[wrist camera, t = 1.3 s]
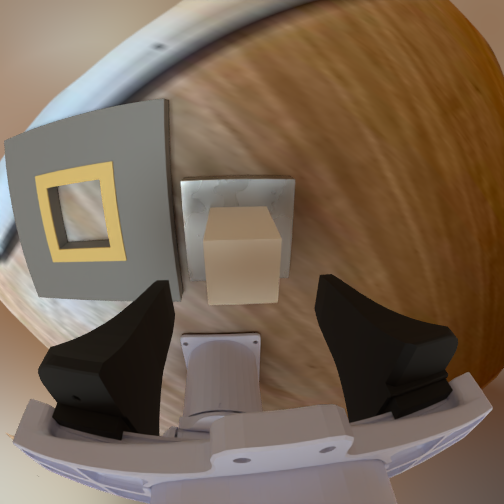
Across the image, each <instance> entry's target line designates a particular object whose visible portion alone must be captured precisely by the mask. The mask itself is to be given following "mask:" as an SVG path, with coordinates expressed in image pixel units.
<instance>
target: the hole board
mask: <svg viewBox="0 0 504 504" xmlns="http://www.w3.org/2000/svg"><path fill="white" fill-rule="evenodd" d="M4 146H5V159H6V169H7V178H8V185H9V191H10V197H11V203H12V208H13V213H14V218H15V222H16V227H17V231H18V235H19V238H20V242H21V246H22V249H23V253H24V256H25V259H26V262H27V266H28V269H29V272H30V274H31V277H32V280H33V283H34V286H35V288H36V291H37V293H38V296H39V297H46V298H61V299H80V300H105V301H135V300H136V299H137V298H138V297H139V296H140V295H141V294H142V293H143V292H144V291H145V290H146V289H147V288H148V287H150V286H151V285H152V284H153V283H154V282H155V281H156V280H169V284H170V290H171V296H172V301H181V299H182V294H183V287H182V280H181V273H180V265H179V257H178V249H177V240H176V231H175V221H174V210H173V198H172V184H171V167H170V146H169V101H168V100H166V99H156V100H149V101H142V102H136V103H130V104H124V105H119V106H114V107H109V108H104V109H100V110H96V111H91V112H87V113H83V114H80V115H76V116H72V117H69V118H65V119H62V120H59V121H56V122H52V123H49V124H46V125H43V126H40V127H38V128H35V129H32V130H29V131H27V132H24V133H22V134H19V135H17V136H14V137H12V138H10V139H7V140H5V141H4ZM98 179H100V187H101V195H102V202H103V209H104V215H105V221H106V227H107V232H108V237H109V240H96V241H78V242H68V241H67V237H66V233H65V228H64V223H63V219H62V213H61V208H60V202H59V196H58V190H57V186H61V185H67V184H72V183H78V182H85V181H91V180H98Z"/></svg>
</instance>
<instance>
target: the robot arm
mask: <svg viewBox="0 0 504 504" xmlns="http://www.w3.org/2000/svg"><path fill="white" fill-rule="evenodd" d="M315 312H316V316H317V320H318V323H319V326H320V329H321V331H322V333H323V336H324V338H325V340H326V342H327V345H328V347H329V349H330V352H331V354H332V356H333V358H334V361H335V364H336V367H337V370H338V374H339V377H340V381H341V385H342V389H343V393H344V397H345V402H346V407H347V412H348V418H349V421H348V418H347V415H346V413H345V410H344V408H342V407H339V406H337V405H334V404H321V405H313V406H307V407H299V408H292V409H283V410H273V411H263V409H262V402H261V394H260V387H259V369H260V345H261V337H260V334H258V333H245V334H212V335H182V336H181V338H180V341H181V346H182V350H183V354H184V358H185V363H186V367H187V379H186V389H185V399H184V409H183V417H180V419H179V429H178V427H173V426H171V427H170V428H169V429H168V430H167V431H166V432H165V433H164V434H163V436H159V416H160V397H161V385H162V376H163V370H164V366H165V361H166V357H167V353H168V350H169V346H170V342H171V338H172V334H173V327H174V319H175V312H174V306H173V301H172V296H171V290H170V284H169V280H156V281H155V282H154V283H153V284H152V285H151V286H150V287H148V288H147V289H146V290H145V291H144V292H143V293H142V294H141V295H140V296H139V297H138V298H137V299H136V300H135V301H133V302H132V303H131V304H130V305H129V306H127V307H126V308H125V309H124V310H123V311H122V312H120V313H119V314H118V315H116V316H115V317H114V318H112V319H111V320H109V321H108V322H106V323H105V324H103V325H101V326H99V327H98V328H96V329H94V330H92V331H91V332H89V333H87V334H85V335H82V336H80V337H78V338H76V339H73V340H71V341H68V342H65V343H62V344H59V345H56V346H53V347H50V349H49V350H48V352H47V354H46V356H45V357H44V359H43V361H42V363H41V365H40V367H39V369H38V374H39V377H40V379H41V381H42V383H43V385H44V386H45V387H46V388H47V390H48V391H49V393H50V394H51V395H52V397H53V398H54V399H55V400H56V402H57V405H56V408H53V407H52V406H50V405H48V404H45V403H43V402H40V401H37V400H34V399H30V401H29V403H28V405H27V407H26V409H25V412H24V414H23V416H22V419H21V421H20V424H19V426H18V429H17V431H16V434H15V437H14V439H13V444H14V445H15V446H17V447H18V448H19V449H20V450H21V451H23V452H24V453H25V454H26V455H28V456H29V457H30V458H31V459H33V460H34V461H35V462H37V463H38V464H39V465H41V466H42V467H44V468H45V469H47V470H49V471H51V472H54V473H56V474H58V475H61V476H63V477H66V478H68V479H71V480H73V481H76V482H78V483H81V484H83V485H87V486H89V487H92V488H95V489H97V490H100V491H103V492H107V493H110V494H113V495H116V496H120V497H123V498H127V499H131V500H135V501H140V502H143V503H148V504H397V501H396V498H395V495H394V492H393V489H392V486H391V483H390V480H389V478H391V477H393V476H395V475H397V474H400V473H402V472H404V471H406V470H408V469H410V468H412V467H413V466H416V465H418V464H420V463H421V462H423V461H425V460H427V459H429V458H431V457H432V456H434V455H436V454H438V453H439V452H441V451H443V450H445V449H446V448H448V447H449V446H451V445H453V444H455V443H456V442H458V441H459V440H461V439H463V438H464V437H465V436H466V435H467V434H468V433H469V432H470V431H472V430H473V429H474V428H475V427H476V426H477V425H478V424H479V423H480V422H481V421H482V419H484V417H486V415H487V414H488V413H489V412H490V411H491V410H492V406H491V404H490V403H489V401H488V399H487V398H486V396H485V395H484V393H483V392H482V390H481V389H480V387H479V386H478V384H477V383H476V381H475V380H474V379H473V377H472V376H471V374H470V373H469V372H467V373H465V374H463V375H461V376H459V377H457V378H455V379H453V380H452V381H450V382H449V383H448V382H447V380H446V378H447V376H448V373H447V372H446V370H445V368H446V367H447V365H448V363H449V362H450V360H451V359H452V357H453V355H454V353H455V351H456V349H457V345H458V339H457V338H456V336H455V335H454V334H453V332H452V331H451V330H450V329H449V328H448V327H446V326H441V325H435V324H430V323H426V322H422V321H419V320H415V319H412V318H409V317H406V316H404V315H401V314H398V313H396V312H394V311H392V310H389V309H387V308H385V307H383V306H381V305H379V304H378V303H376V302H374V301H372V300H371V299H369V298H367V297H366V296H364V295H363V294H361V293H359V292H358V291H356V290H355V289H353V288H352V287H350V286H349V285H348V284H346V283H345V282H343V281H342V280H340V279H339V278H337V277H336V276H334V275H332V274H327V275H320V277H319V284H318V290H317V297H316V303H315ZM254 341H256V342H254ZM184 342H187V343H184Z"/></svg>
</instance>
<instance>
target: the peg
mask: <svg viewBox="0 0 504 504" xmlns="http://www.w3.org/2000/svg"><path fill="white" fill-rule="evenodd" d="M281 245H282V238H281V236H280V234H279V232H278V230H277V227H276V225H275V223H274V221H273V219H272V217H271V215H270V213H269V211H268V208H267V206H257V207H214V208H210V211H209V215H208V220H207V224H206V229H205V234H204V238H203V248H204V261H205V273H206V284H207V295H208V305H237V304H261V303H278V293H279V278H280V262H281Z"/></svg>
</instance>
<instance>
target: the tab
mask: <svg viewBox="0 0 504 504" xmlns="http://www.w3.org/2000/svg"><path fill="white" fill-rule="evenodd" d="M294 193H295V179H294V178H293V177H291V176H266V175H255V176H209V177H188V178H183V179H182V181H181V194H182V208H183V221H184V232H185V243H186V252H187V262H188V270H189V279H190V281H206V273H205V261H204V248H203V238H204V234H205V229H206V224H207V220H208V215H209V211H210V208H214V207H257V206H267V208H268V211H269V213H270V215H271V217H272V219H273V221H274V223H275V225H276V227H277V230H278V232H279V234H280V236H281V238H282V245H281V262H280V278H289V268H290V256H291V242H292V227H293V211H294Z"/></svg>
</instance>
